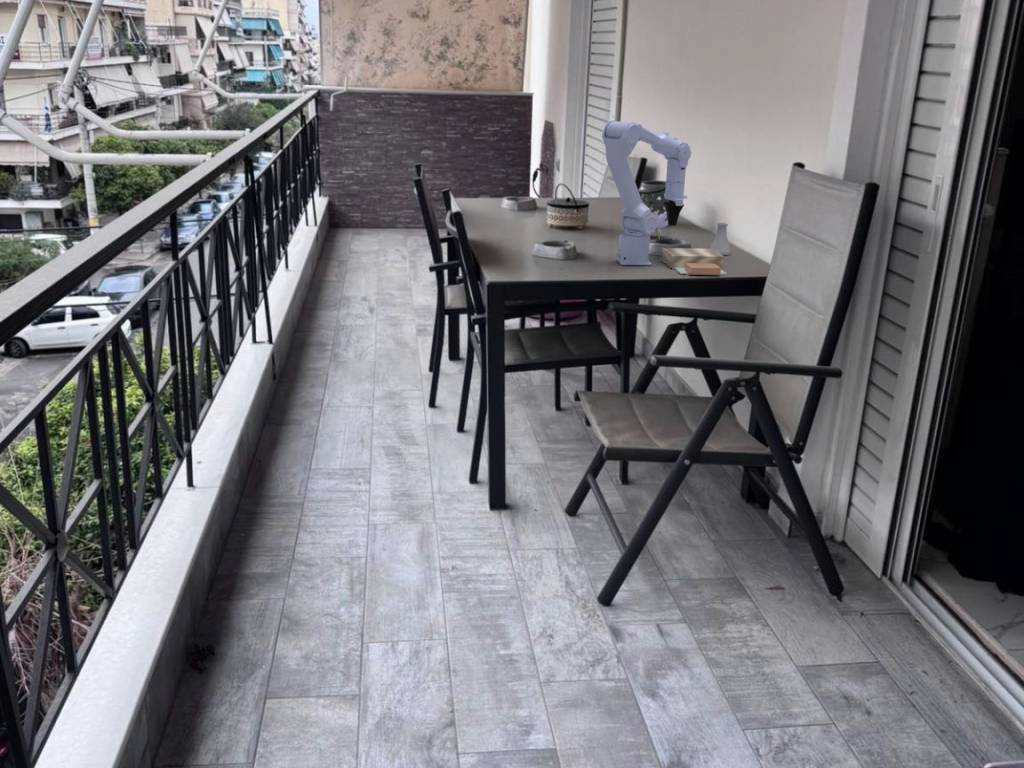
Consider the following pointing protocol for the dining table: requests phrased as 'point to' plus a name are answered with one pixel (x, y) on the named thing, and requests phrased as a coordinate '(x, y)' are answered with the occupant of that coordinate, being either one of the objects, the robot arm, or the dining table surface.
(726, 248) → the flask
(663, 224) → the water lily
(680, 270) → the mat
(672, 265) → the plate
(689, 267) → the tile
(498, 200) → the dining table surface
